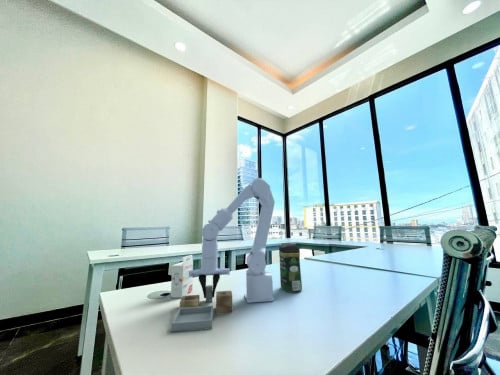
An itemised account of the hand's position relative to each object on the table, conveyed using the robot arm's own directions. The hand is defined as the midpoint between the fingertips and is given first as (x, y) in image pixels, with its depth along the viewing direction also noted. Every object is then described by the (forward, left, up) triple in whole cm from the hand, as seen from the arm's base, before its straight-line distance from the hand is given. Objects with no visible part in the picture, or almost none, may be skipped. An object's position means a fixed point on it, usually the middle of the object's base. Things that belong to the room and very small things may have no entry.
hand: (209, 296), depth 74 cm
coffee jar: (-33, -7, -2) cm, 34 cm away
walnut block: (-5, +9, -2) cm, 10 cm away
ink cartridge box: (+11, -10, -2) cm, 15 cm away
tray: (+4, +16, -1) cm, 16 cm away
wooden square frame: (+6, +5, -1) cm, 8 cm away
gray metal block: (0, 0, -1) cm, 1 cm away
